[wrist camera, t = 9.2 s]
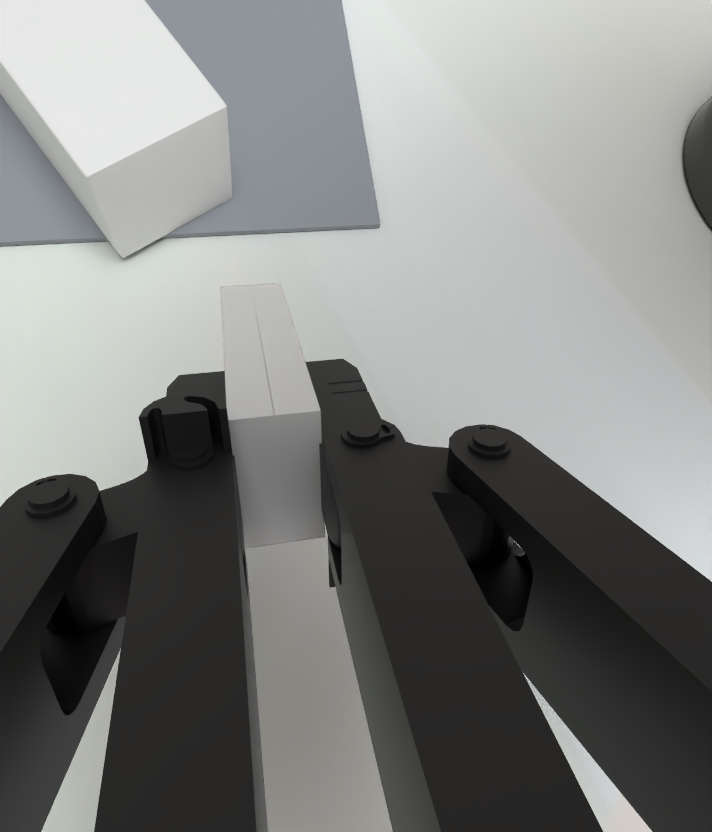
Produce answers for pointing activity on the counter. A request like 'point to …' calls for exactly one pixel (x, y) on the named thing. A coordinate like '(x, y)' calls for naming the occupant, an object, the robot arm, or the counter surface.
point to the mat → (235, 128)
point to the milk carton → (117, 113)
